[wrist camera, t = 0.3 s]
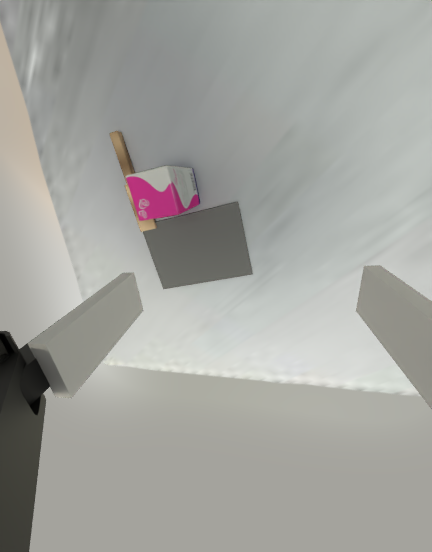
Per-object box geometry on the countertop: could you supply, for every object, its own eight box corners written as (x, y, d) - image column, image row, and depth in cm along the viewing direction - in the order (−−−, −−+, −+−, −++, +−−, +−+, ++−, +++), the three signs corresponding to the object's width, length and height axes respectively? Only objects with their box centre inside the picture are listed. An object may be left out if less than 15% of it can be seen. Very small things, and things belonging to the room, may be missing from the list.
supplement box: (159, 175, 37) (123, 173, 27) (193, 167, 36) (169, 163, 26) (168, 210, 39) (138, 222, 29) (200, 204, 38) (181, 214, 28)
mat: (141, 225, 41) (140, 225, 41) (237, 201, 37) (237, 201, 37) (164, 288, 46) (163, 289, 45) (252, 273, 42) (252, 274, 41)
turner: (109, 136, 36) (105, 135, 35) (125, 130, 35) (121, 129, 34) (142, 231, 41) (139, 232, 40) (157, 227, 40) (154, 228, 39)
